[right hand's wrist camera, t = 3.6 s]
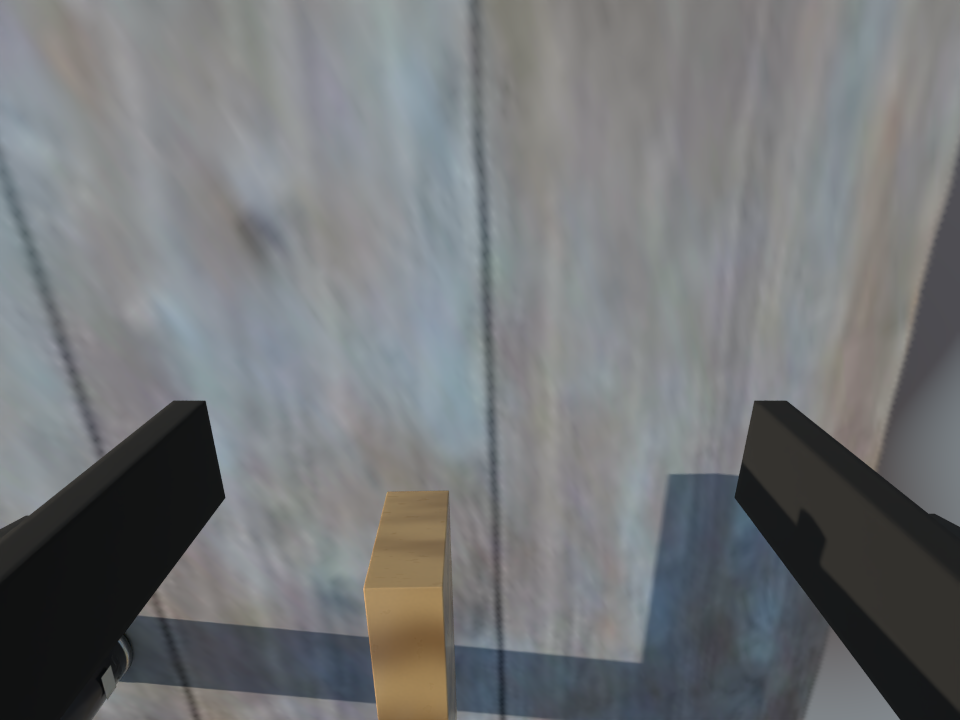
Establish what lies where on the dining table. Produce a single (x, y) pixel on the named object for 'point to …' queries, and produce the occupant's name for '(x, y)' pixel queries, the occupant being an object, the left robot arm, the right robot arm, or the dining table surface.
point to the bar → (412, 609)
